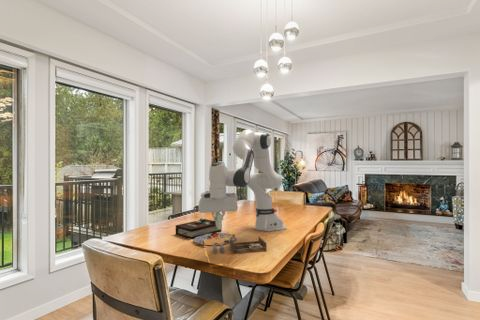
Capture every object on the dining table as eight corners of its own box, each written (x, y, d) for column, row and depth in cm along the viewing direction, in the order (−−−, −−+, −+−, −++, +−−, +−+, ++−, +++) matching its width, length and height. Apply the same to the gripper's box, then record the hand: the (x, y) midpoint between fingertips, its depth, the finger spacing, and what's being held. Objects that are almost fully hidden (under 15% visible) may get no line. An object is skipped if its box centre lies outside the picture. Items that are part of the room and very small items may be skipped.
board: (221, 229, 135) (221, 215, 136) (218, 229, 135) (218, 215, 135) (218, 224, 146) (218, 211, 146) (215, 224, 146) (215, 211, 146)
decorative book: (171, 224, 178) (206, 217, 201) (171, 236, 178) (206, 227, 201) (189, 228, 165) (224, 220, 188) (189, 241, 165) (225, 231, 188)
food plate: (216, 233, 180) (215, 228, 180) (243, 240, 165) (243, 234, 165) (186, 243, 161) (186, 238, 161) (214, 252, 146) (214, 245, 146)
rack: (259, 246, 153) (259, 236, 153) (266, 253, 141) (266, 242, 141) (229, 248, 149) (229, 239, 149) (234, 255, 137) (234, 245, 137)
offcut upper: (258, 245, 146) (258, 243, 146) (260, 247, 143) (260, 245, 143) (250, 246, 145) (250, 244, 145) (252, 248, 141) (252, 246, 141)
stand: (224, 250, 146) (224, 243, 146) (226, 255, 138) (226, 248, 138) (211, 251, 145) (211, 244, 145) (212, 256, 137) (212, 249, 137)
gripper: (236, 192, 147) (236, 218, 147) (197, 193, 143) (198, 220, 143) (238, 193, 141) (239, 220, 141) (198, 195, 137) (199, 222, 136)
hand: (218, 220), depth 142 cm, fingers closed on board, 2 cm apart
